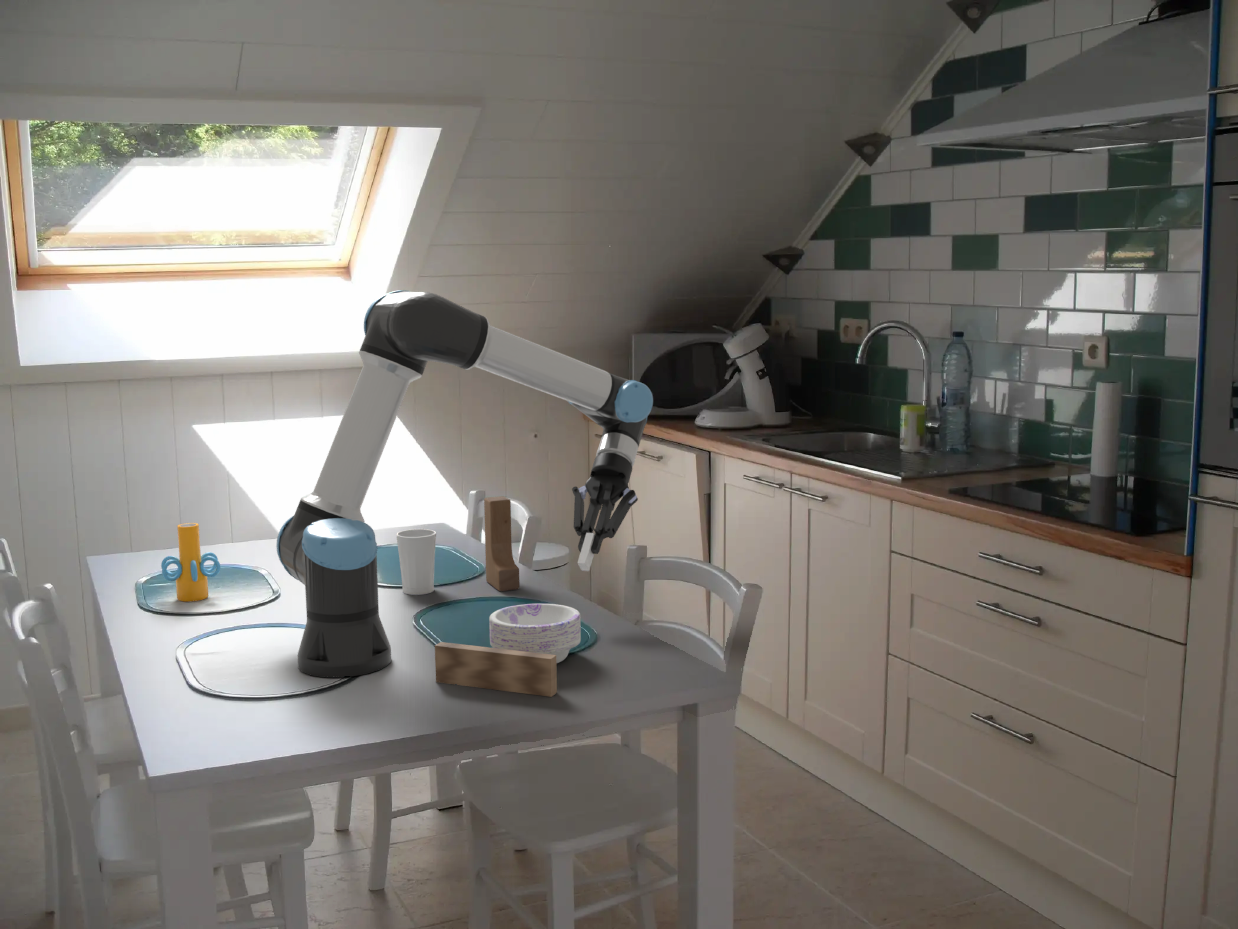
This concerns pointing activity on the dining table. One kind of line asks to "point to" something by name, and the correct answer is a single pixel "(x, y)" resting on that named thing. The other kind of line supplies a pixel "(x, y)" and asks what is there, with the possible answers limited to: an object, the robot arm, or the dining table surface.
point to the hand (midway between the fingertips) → (583, 566)
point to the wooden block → (499, 545)
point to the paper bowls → (536, 629)
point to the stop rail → (496, 669)
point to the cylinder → (190, 565)
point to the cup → (417, 560)
